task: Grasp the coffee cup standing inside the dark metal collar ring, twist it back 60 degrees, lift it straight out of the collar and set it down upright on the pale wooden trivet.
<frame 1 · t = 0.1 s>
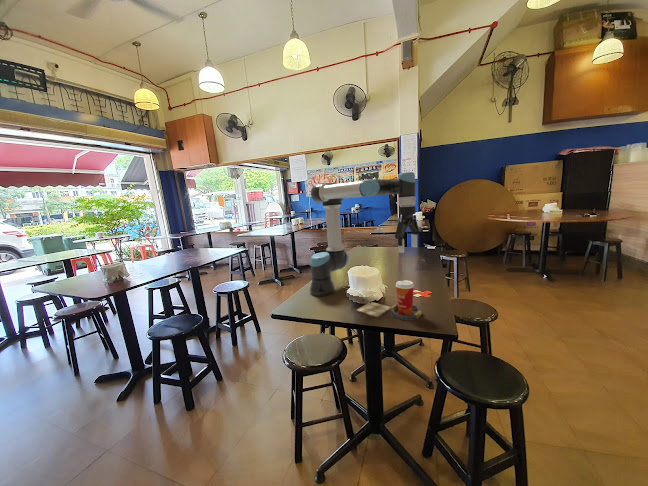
hand: (408, 249, 122), 28 cm above the table, fingers open, 13 cm apart
trivet: (373, 309, 123), on the table
coffee cup: (405, 313, 117), resting in collar
collar: (405, 313, 117), on the table
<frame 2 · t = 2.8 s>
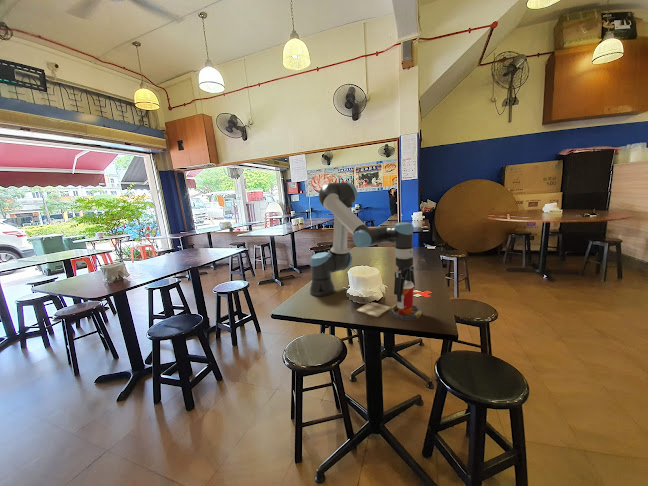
hand: (405, 304, 116), 4 cm above the table, fingers closed on coffee cup, 8 cm apart
coffee cup: (405, 313, 117), resting in collar, touching gripper
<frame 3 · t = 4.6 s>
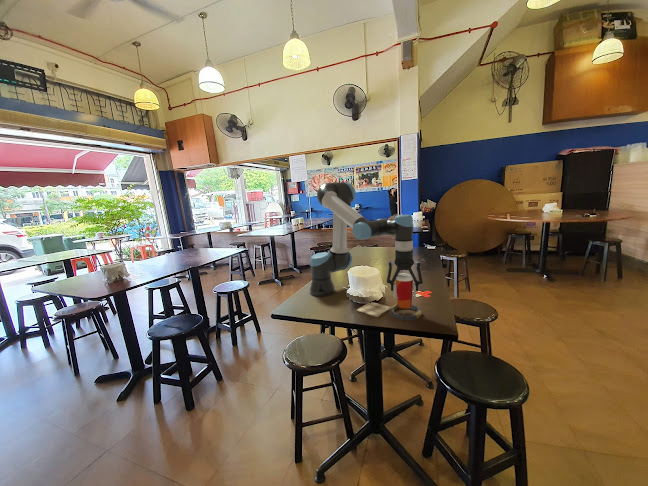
hand: (404, 297, 116), 8 cm above the table, fingers closed on coffee cup, 8 cm apart
coffee cup: (404, 306, 116), point 3 cm above the table, touching gripper
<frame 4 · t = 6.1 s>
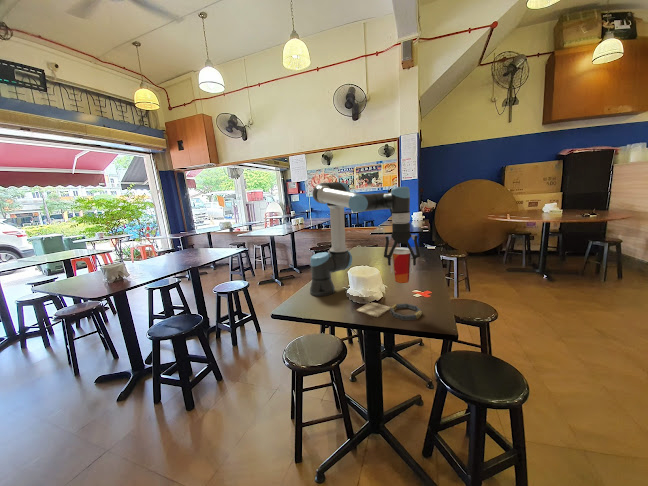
hand: (401, 272, 114), 20 cm above the table, fingers closed on coffee cup, 8 cm apart
coffee cup: (401, 281, 115), point 15 cm above the table, touching gripper
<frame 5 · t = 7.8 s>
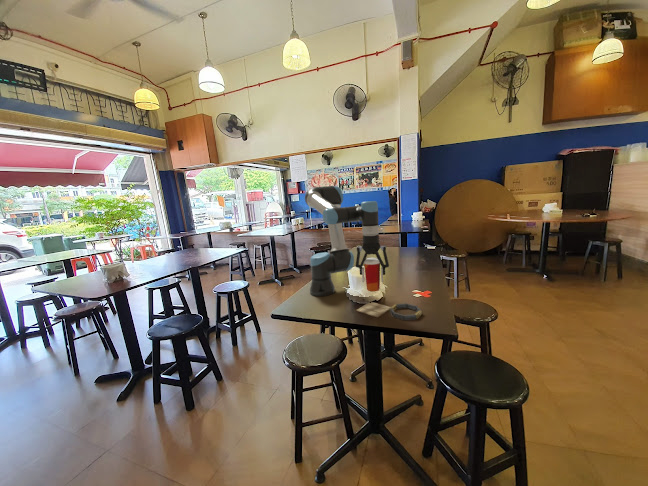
hand: (372, 281, 120), 15 cm above the table, fingers closed on coffee cup, 8 cm apart
coffee cup: (373, 289, 121), point 10 cm above the table, touching gripper
when the fingers open (6 cm above the table, at t = 9.4 s): coffee cup drops 1 cm, resting on trivet.
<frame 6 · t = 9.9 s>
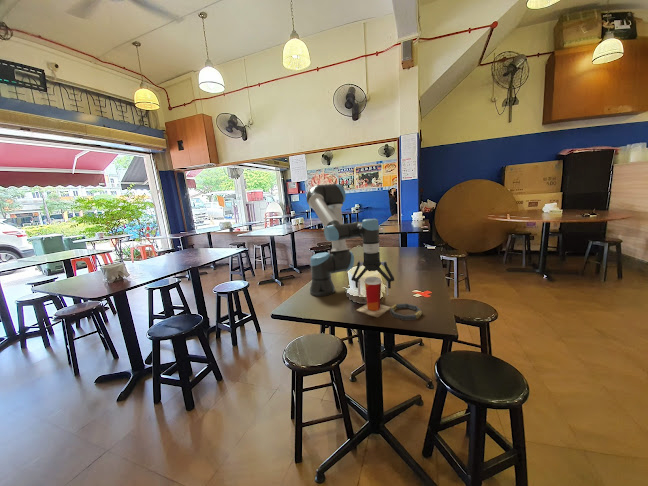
hand: (373, 294, 122), 8 cm above the table, fingers open, 13 cm apart
coffee cup: (373, 308, 123), point 1 cm above the table, touching trivet
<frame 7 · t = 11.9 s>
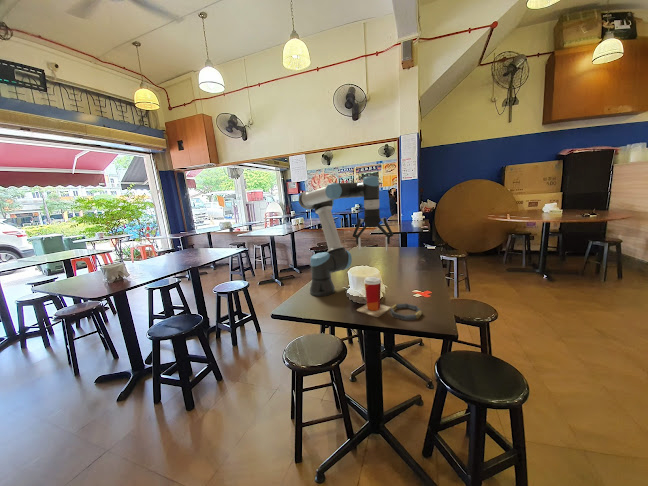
hand: (373, 250, 128), 28 cm above the table, fingers open, 13 cm apart
nothing on the table moved.
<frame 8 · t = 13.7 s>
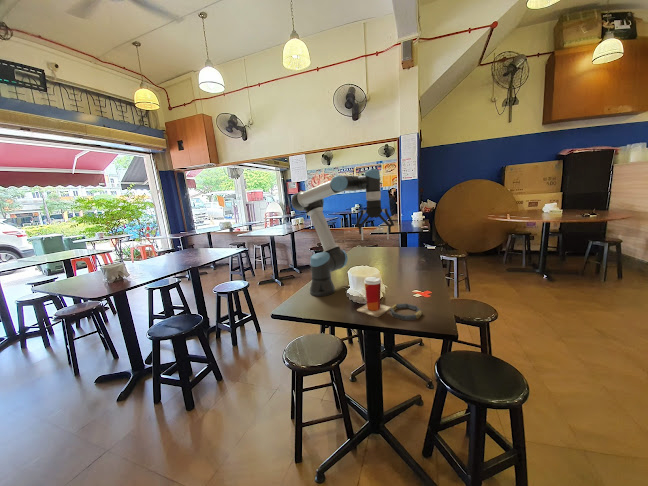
hand: (375, 239, 136), 32 cm above the table, fingers open, 13 cm apart
nothing on the table moved.
at the end: coffee cup inside the target area on the trivet (0.1 cm from its centre), point 0.5 cm above the trivet's base; coffee cup tilted 0°; the gripper is holding nothing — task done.
